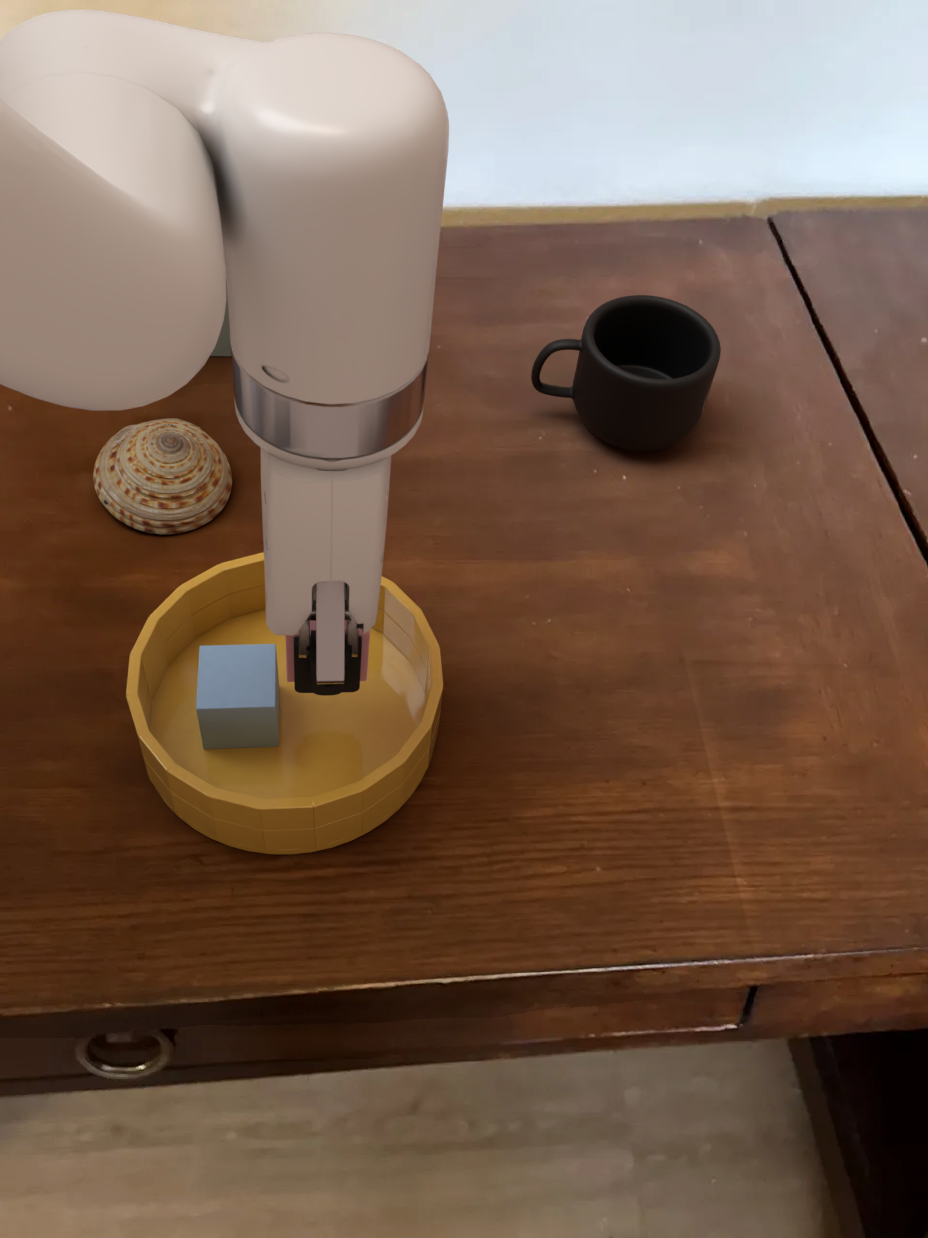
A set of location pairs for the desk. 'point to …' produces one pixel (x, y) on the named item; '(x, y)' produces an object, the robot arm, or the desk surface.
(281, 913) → the desk surface
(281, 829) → the bowl
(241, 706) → the toy blue
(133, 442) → the seashell
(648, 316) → the mug
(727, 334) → the desk surface
